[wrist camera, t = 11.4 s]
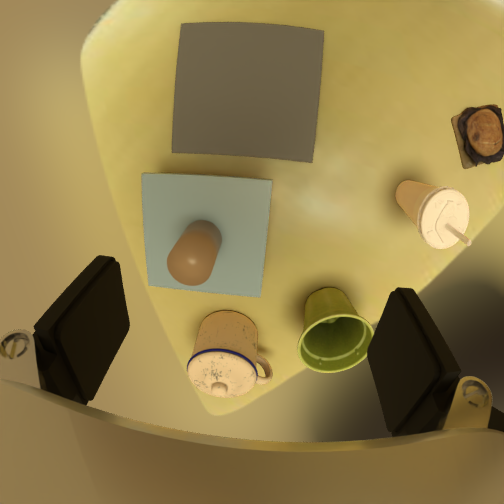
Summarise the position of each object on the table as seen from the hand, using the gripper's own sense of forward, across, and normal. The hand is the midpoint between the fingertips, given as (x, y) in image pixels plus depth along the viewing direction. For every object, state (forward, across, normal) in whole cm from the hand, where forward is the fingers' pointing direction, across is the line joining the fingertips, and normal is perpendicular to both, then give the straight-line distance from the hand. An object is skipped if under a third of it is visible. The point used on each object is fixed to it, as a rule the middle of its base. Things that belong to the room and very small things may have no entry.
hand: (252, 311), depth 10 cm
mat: (+26, +3, -9) cm, 28 cm away
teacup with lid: (+25, +1, +25) cm, 36 cm away
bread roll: (+27, -29, -10) cm, 41 cm away
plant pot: (+26, -10, +18) cm, 33 cm away
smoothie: (+26, -18, +1) cm, 32 cm away
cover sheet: (+20, +6, +7) cm, 22 cm away
